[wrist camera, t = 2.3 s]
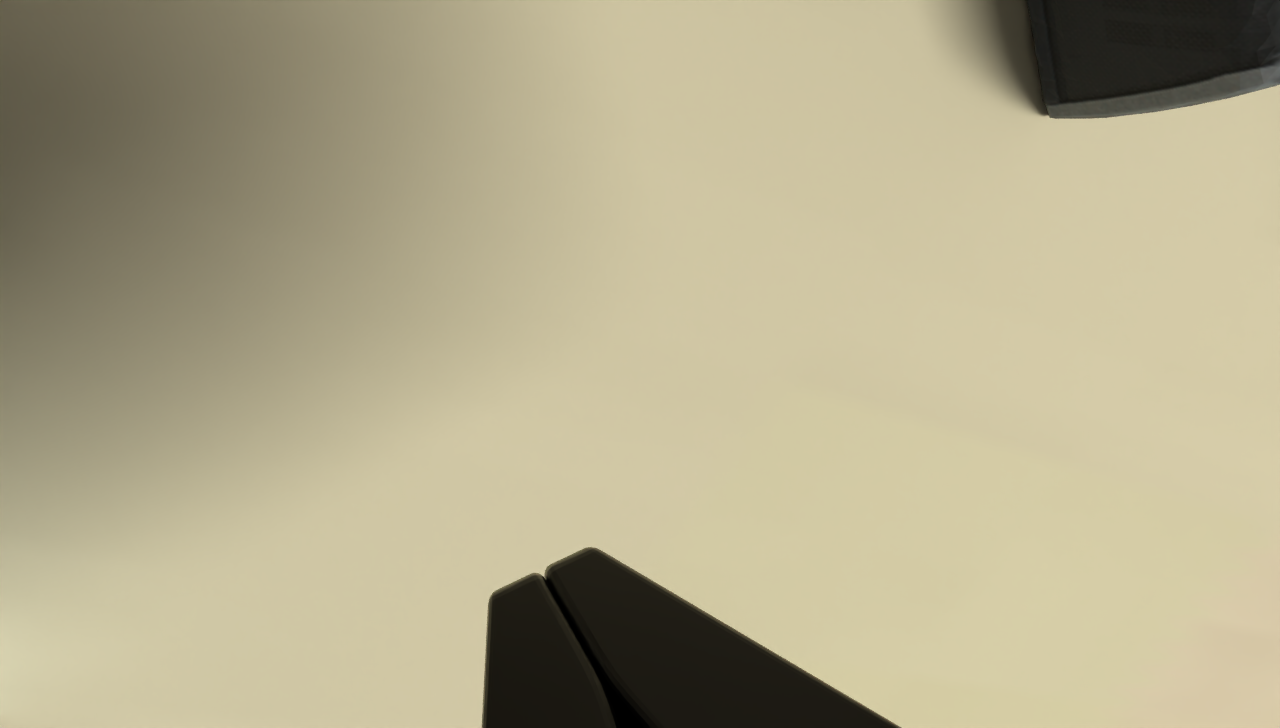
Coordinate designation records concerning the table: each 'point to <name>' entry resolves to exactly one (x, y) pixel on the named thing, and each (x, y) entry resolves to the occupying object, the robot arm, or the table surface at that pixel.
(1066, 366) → the table surface
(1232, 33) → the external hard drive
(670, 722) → the robot arm
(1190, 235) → the table surface
